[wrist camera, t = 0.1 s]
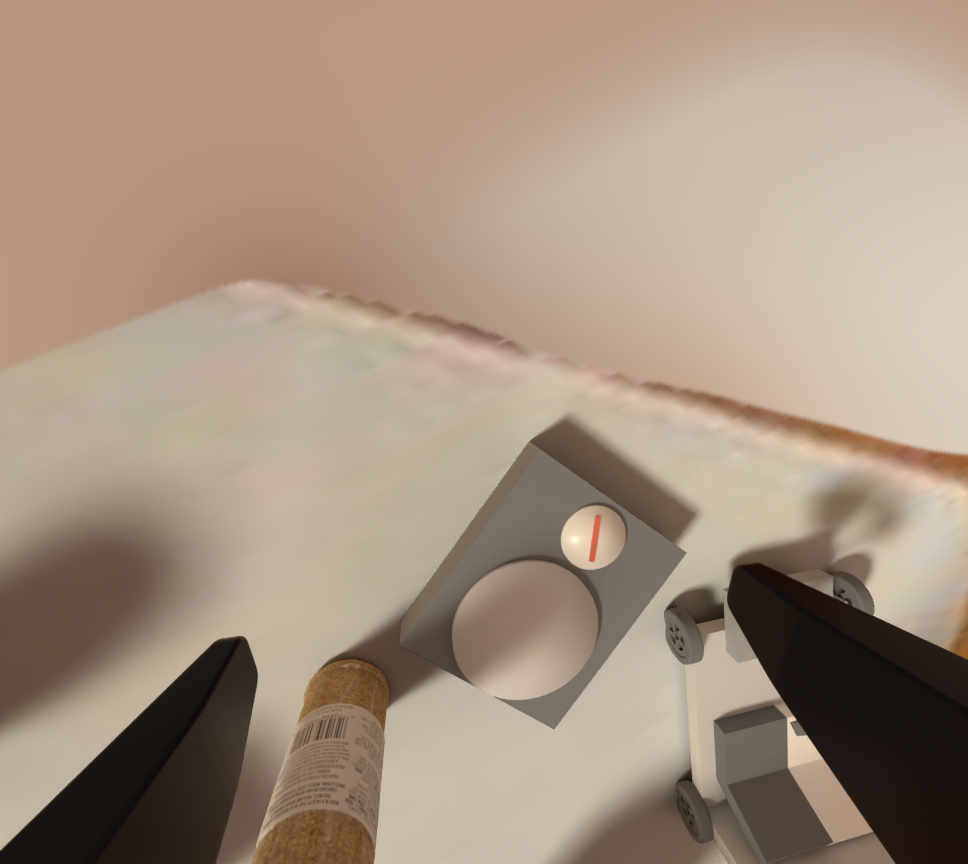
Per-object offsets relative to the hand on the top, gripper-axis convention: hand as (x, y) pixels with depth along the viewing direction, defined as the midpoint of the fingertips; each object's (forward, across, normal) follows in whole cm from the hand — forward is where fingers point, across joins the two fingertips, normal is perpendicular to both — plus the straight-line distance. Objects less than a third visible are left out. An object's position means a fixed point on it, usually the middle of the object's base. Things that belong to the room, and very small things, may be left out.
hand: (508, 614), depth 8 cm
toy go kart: (+12, -18, +20) cm, 29 cm away
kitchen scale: (+13, -4, +11) cm, 18 cm away
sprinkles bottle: (+12, +6, +17) cm, 21 cm away
